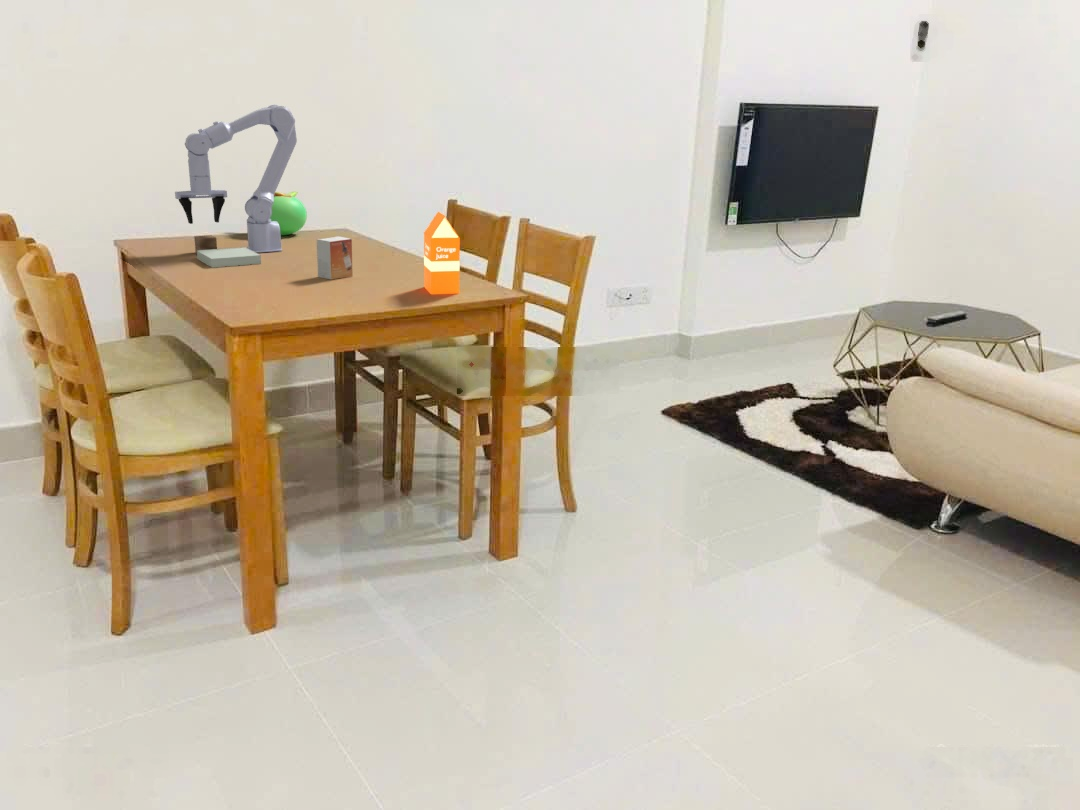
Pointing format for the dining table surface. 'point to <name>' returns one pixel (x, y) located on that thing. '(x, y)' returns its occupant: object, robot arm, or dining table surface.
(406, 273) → the dining table surface
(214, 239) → the walnut cube
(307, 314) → the dining table surface
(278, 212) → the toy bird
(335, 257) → the small box
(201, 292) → the dining table surface
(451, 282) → the orange juice
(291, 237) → the dining table surface
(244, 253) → the base
